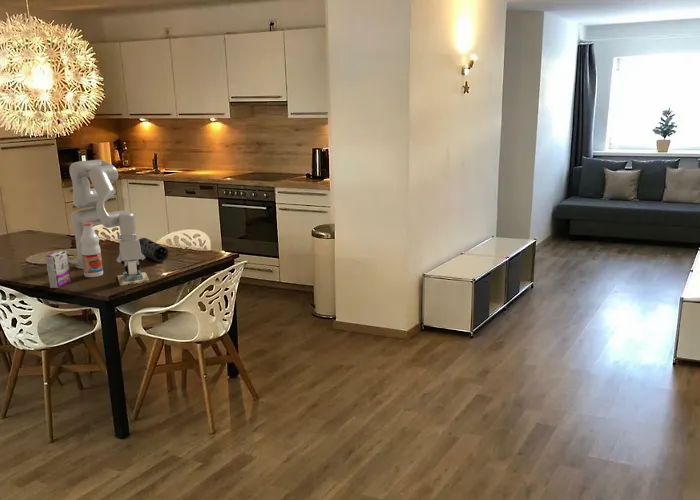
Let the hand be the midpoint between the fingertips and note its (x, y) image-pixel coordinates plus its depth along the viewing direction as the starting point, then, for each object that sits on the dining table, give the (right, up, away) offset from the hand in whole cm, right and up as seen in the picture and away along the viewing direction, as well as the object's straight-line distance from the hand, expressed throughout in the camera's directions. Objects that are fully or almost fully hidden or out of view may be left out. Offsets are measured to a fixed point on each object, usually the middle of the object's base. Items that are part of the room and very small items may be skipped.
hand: (132, 272), depth 325 cm
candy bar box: (-34, -6, -6) cm, 35 cm away
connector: (0, -1, 0) cm, 1 cm away
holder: (0, -4, +1) cm, 4 cm away
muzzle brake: (-3, +6, +41) cm, 42 cm away
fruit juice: (-24, -2, +10) cm, 26 cm away
